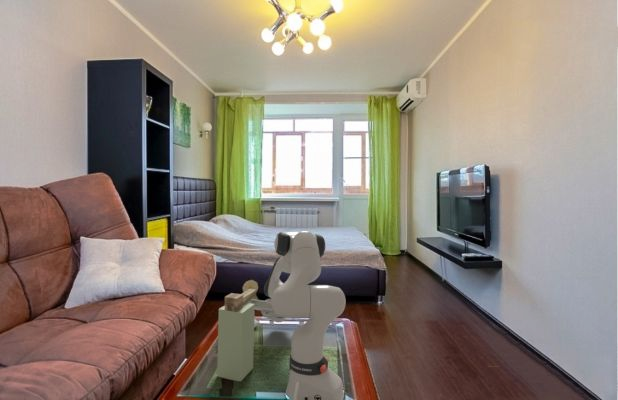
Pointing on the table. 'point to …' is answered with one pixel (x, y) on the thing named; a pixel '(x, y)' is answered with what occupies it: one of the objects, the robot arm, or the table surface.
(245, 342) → the pedestal
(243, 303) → the block
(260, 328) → the table surface
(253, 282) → the flower in vase
